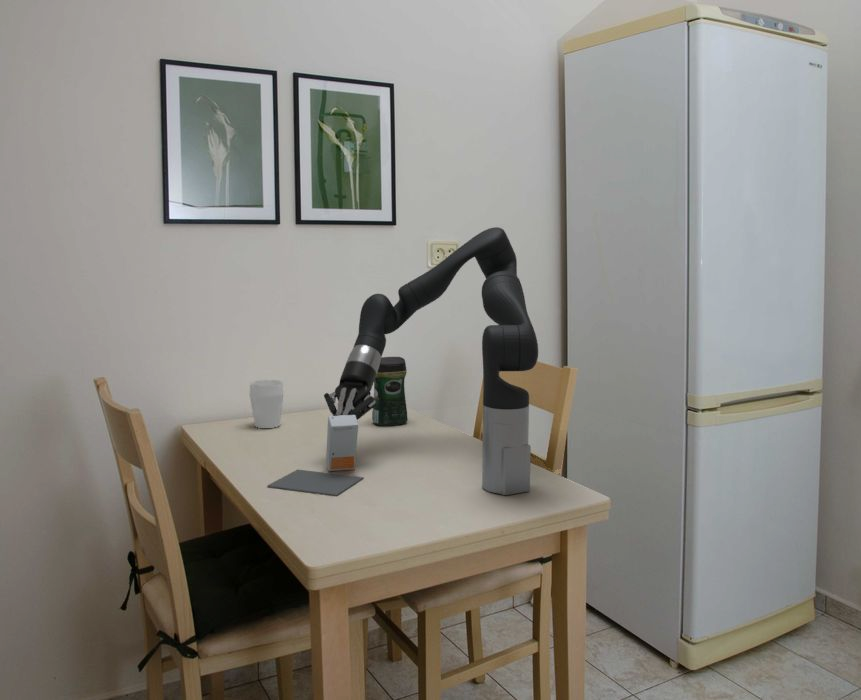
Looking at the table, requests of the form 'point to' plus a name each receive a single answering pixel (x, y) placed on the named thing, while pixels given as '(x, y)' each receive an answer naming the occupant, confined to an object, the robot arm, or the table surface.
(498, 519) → the table surface
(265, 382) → the cup
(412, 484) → the table surface
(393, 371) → the coffee jar
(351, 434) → the skincare box
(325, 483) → the mat
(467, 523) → the table surface
